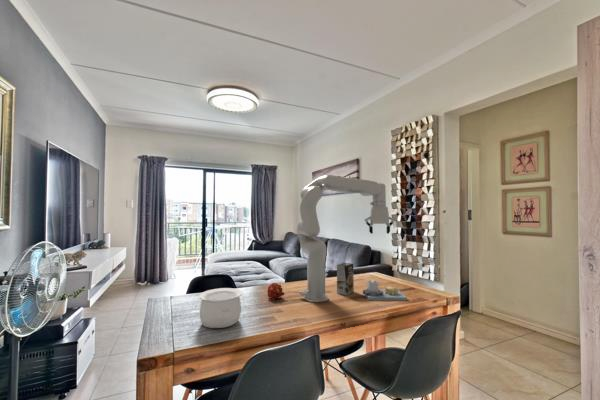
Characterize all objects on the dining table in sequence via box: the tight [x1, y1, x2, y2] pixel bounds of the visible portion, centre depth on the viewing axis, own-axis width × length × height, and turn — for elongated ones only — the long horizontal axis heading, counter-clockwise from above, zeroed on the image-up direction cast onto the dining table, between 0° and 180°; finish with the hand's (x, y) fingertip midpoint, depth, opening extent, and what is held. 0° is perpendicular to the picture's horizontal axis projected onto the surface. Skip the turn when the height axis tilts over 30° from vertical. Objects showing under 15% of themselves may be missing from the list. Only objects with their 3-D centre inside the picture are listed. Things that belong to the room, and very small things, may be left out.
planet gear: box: [362, 280, 383, 296], centre depth 154 cm, size 11×11×6 cm
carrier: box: [363, 279, 408, 301], centre depth 154 cm, size 20×14×8 cm
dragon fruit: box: [267, 282, 285, 301], centre depth 151 cm, size 8×8×12 cm
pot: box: [198, 287, 243, 329], centre depth 118 cm, size 22×17×12 cm
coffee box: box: [336, 262, 355, 296], centre depth 161 cm, size 9×6×16 cm
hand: (379, 233), depth 166 cm, fingers open, 9 cm apart
